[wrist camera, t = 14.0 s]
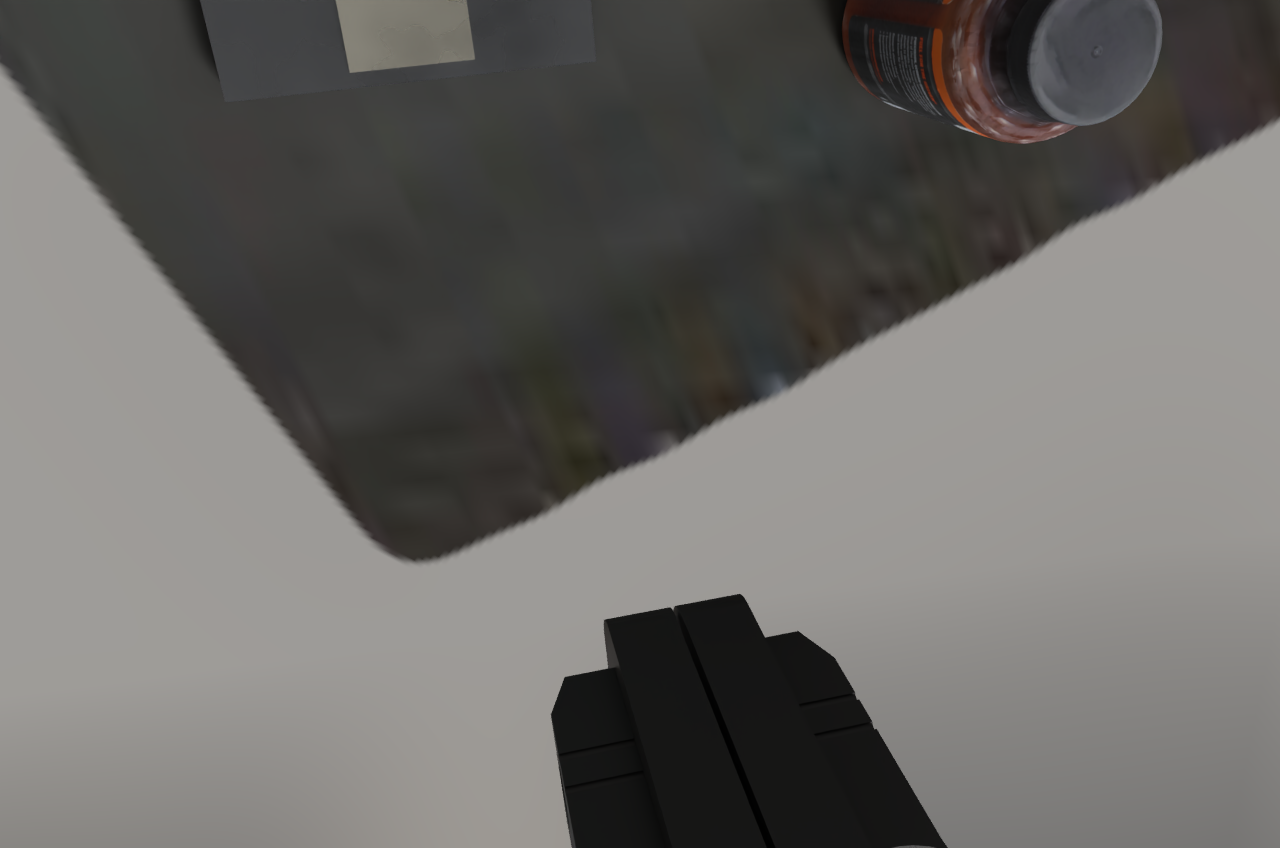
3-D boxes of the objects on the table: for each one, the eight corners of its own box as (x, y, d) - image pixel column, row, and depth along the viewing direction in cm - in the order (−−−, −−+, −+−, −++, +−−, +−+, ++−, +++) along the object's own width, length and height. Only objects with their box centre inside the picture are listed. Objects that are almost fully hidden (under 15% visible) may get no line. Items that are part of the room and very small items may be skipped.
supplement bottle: (911, 138, 40) (1082, 208, 30) (803, 36, 37) (948, 75, 27) (1020, 6, 39) (1237, 33, 29) (915, -109, 36) (1111, -124, 26)
